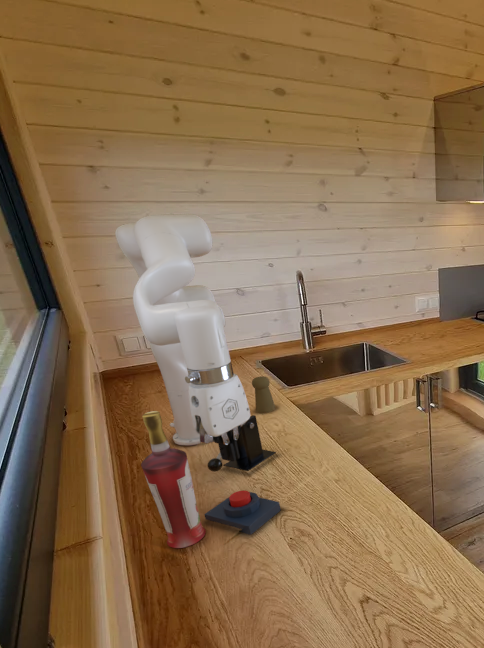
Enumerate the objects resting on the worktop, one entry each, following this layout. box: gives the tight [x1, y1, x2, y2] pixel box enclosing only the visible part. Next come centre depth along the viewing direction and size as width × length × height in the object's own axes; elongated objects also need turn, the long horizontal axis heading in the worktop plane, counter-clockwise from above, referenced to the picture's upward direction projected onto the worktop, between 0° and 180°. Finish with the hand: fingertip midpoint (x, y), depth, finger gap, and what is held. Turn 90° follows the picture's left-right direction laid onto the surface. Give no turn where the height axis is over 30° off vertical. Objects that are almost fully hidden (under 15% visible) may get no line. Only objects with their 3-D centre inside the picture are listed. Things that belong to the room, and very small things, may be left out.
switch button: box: [228, 490, 251, 507], centre depth 103 cm, size 4×4×2 cm
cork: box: [251, 375, 276, 414], centre depth 156 cm, size 6×6×11 cm
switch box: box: [204, 491, 282, 536], centre depth 104 cm, size 12×9×4 cm
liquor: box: [140, 410, 207, 549], centre depth 92 cm, size 7×7×28 cm
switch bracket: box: [222, 414, 277, 472], centre depth 124 cm, size 10×8×13 cm
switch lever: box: [207, 427, 241, 473], centre depth 119 cm, size 15×3×3 cm
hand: (231, 458), depth 99 cm, fingers closed
